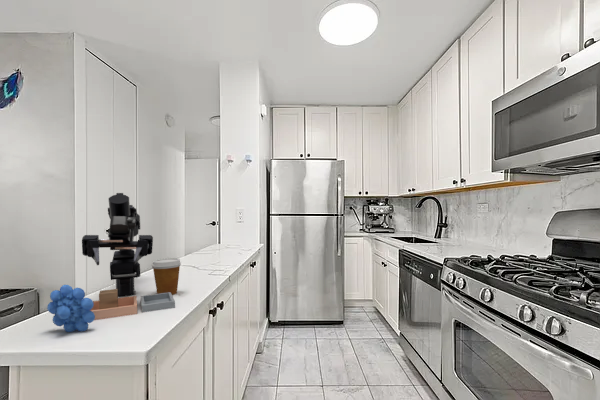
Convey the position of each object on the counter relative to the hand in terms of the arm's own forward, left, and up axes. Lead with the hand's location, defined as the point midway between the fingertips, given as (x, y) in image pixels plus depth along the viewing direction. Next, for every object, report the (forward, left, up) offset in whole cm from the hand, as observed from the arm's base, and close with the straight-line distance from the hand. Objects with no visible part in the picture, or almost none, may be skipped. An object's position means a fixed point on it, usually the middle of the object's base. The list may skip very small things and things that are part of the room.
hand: (116, 263), depth 99 cm
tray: (-5, +11, -15) cm, 19 cm away
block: (-4, -2, -14) cm, 15 cm away
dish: (-4, -2, -15) cm, 16 cm away
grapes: (+9, -10, -15) cm, 21 cm away
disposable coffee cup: (-18, +15, -15) cm, 27 cm away
